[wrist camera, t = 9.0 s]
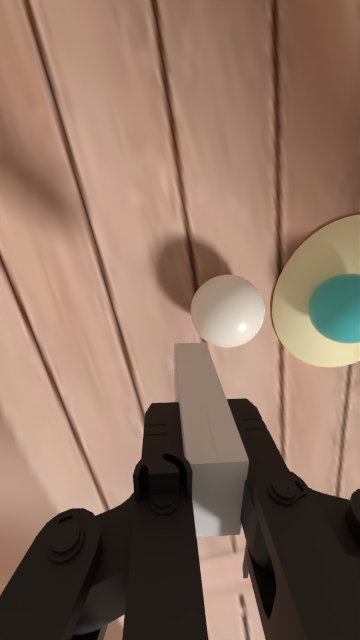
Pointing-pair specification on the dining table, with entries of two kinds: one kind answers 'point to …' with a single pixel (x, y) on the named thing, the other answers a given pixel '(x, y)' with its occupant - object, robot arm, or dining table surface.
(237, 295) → the cue ball
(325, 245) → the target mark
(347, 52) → the dining table surface
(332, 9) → the dining table surface
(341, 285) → the teal ball
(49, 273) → the dining table surface
